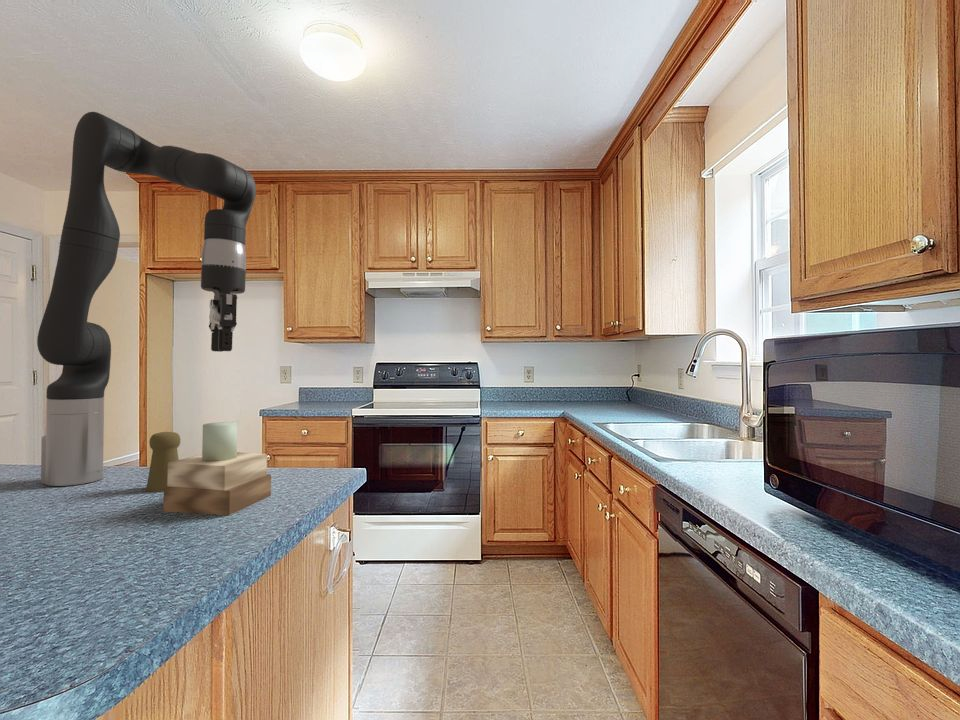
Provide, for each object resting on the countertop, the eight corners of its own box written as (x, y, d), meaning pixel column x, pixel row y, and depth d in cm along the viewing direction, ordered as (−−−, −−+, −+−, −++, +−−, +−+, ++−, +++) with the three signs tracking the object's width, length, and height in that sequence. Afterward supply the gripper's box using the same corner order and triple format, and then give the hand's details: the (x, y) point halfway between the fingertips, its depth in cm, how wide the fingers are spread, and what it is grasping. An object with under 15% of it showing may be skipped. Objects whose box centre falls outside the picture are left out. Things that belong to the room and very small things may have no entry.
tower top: (167, 486, 82) (167, 462, 82) (215, 472, 92) (215, 451, 93) (224, 490, 80) (224, 466, 80) (266, 475, 90) (267, 453, 90)
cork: (149, 485, 97) (150, 431, 98) (184, 483, 100) (185, 429, 100) (143, 493, 92) (143, 435, 92) (180, 490, 94) (181, 433, 95)
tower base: (163, 514, 81) (163, 487, 81) (212, 495, 93) (212, 471, 93) (229, 518, 79) (229, 490, 79) (270, 498, 91) (271, 474, 91)
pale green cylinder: (194, 460, 84) (195, 425, 84) (216, 454, 89) (217, 421, 89) (223, 461, 83) (223, 426, 83) (243, 455, 88) (243, 422, 88)
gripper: (253, 264, 89) (250, 352, 89) (238, 274, 101) (235, 352, 101) (207, 257, 85) (203, 350, 85) (196, 269, 96) (193, 350, 96)
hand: (221, 351), depth 93 cm, fingers open, 8 cm apart
